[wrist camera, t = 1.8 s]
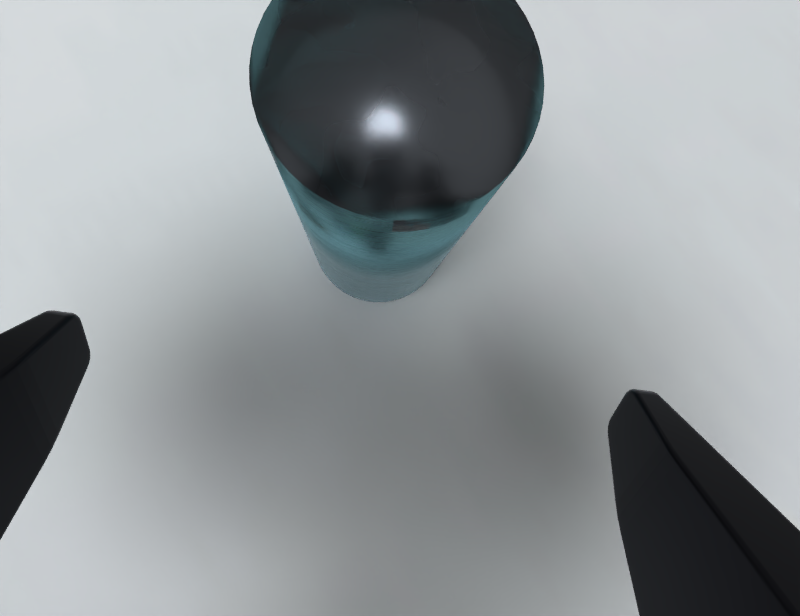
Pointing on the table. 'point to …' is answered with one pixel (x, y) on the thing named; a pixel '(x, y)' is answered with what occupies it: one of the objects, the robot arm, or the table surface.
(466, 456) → the table surface
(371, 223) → the ball
